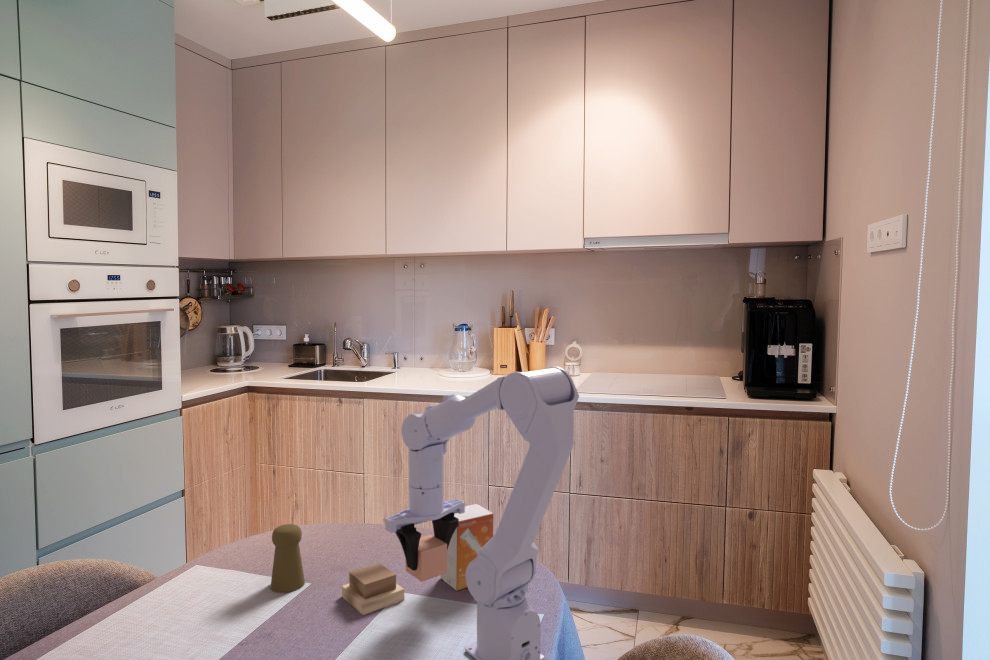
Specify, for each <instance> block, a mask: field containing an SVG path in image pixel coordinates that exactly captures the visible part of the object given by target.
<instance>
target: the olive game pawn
mask: <svg viewBox="0 0 990 660" xmlns="http://www.w3.org/2000/svg"><path fill="white" fill-rule="evenodd" d="M271 534H272V535H271V541H272V544H273V545H274V555H273V564H272V572H271V580H270V588H269V589H270V591H272V592H274V593H279V594H286V593H293V592H296V591H298V590H300V589H301V588H303V587H304V585H305V584H306V582H305V581H306V580H305V575H304V569H303V561H302V556H301V549H300V542H301V541H302V534H303V533H302V529H301V528H300V526H299V525H297V524H292V523H286V524H281V525H279V526H276V528H275V527H274V529H273V531H272V533H271Z"/></svg>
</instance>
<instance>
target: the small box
mask: <svg viewBox="0 0 990 660" xmlns="http://www.w3.org/2000/svg"><path fill="white" fill-rule="evenodd" d="M454 517H456V518H458V519H459V525H458V526H457V528H456V530H455V531H454V533H453V535H452V538H451V540H450V543H449V546H448V550H447V573H446V574H443V575H440V579H441V580H442V581H444V582H445V583H446V584H448V585H449V586H450V587H451V588H452V589H453V590H455V591H456V592H457V591H460V590H463V589H466V588H467V589H468V587H467V583H466V569H467V566H468V564H469V563H470V562H471V561H473V560H474V559H475V558H476V557H477V555H478V553H479V550H480V549H481V548H482V547H483V546H484V545H485V544H486V543H487V542H488V541H489V540H490V539H491V538H492V537H493V536H494V512H491V511H490V510H488V509H486V508H485V507H484V506H481V505H479V504H478V503H474V504H470V505H465V513H462V514H459V513H456V514H454Z"/></svg>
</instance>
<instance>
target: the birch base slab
mask: <svg viewBox="0 0 990 660" xmlns="http://www.w3.org/2000/svg"><path fill="white" fill-rule="evenodd" d="M341 597H342V598H343V599H344V600H345V601H346V602H348V603H349V604H350V605H351V606H352V607H353V608H354V609H355V610H357V611H358V612H359V613H360V614H361V615H363V616H364V615H367V614H369V613H372V612H375V611H378V610H380V609H383V608H386V607H389V606H392V605H394V604H396V603H400V602H402V601H404V600H405V588H403V587H402V586H401V585H400V584H398V583H397V582H396V589H393V590H390V591H387V592H384V593H381V594H378V595H375V596H372V597H369V598H367V599H364V598H363V597H362V596H361V595H360V594H358V593H357V592H356V591H355V590H354V589H352V588H351V587H350V586H349V583H346V584H343V585H341Z"/></svg>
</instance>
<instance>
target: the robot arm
mask: <svg viewBox="0 0 990 660" xmlns="http://www.w3.org/2000/svg"><path fill="white" fill-rule="evenodd" d="M579 398H580V394H579V392H578V389H577V388H576V385H575V383H574V380H573V378H572V376H571V375H570V374H569V372H568V371H567V370H565V369H564V368H562V367H561V366H551V367H547V368H545V369H544V368H543V369H537V370H528V371H513V372H510V373H508V374H507V375H504V376H500V377H497V379H494V381H492V382H491V383H489V384H487V385H485V386H484V387H482V388H480V389H478V390H477V391H475V392H473V393H472V394H470V395H469V396H467V397H465V396H463V395H458V394H456V395H455V394H454V393H451V394H446V395H444V396H442V402H440V403H438V404H436V405H434V404H432V405H431V404H430V405H428V406H427V407H425V411H423V412H422V413H417V414H416V413H409V414H408V415H407V416H406V417H405V418H404V419H403V421H402V424H401V436H402V440H403V443H404V444H405V446H406V447H407V448H408V455H409V456H408V462H409V463H408V467H409V468H408V469H409V470H408V472H409V473H408V478H409V479H408V487H409V488H408V492H409V493H408V499H409V500H408V508H406V509H403V510H401V511H400V512H398V513H396V514H394V515H391V516H388V517H385V518H384V525H385V526H384V530H385V531H386V532H388V533H390V534H394V533H395V535H396V536H397V538H398V541H399V543H400V545H401V548H402V551H403V554H404V556H405V564H406V563H407V567H408V568H410V569H411V570H413V571H414V570H417V566H418V547H419V541H420V537H422V533H421V532H420V531H418V530H417V527H415V526H416V525H418V524H419V525H420V524H423V523H426V522H429V521H430V522H432V523H431V524H432V529H433V536H434V537H436V538H438V539H439V540H441V541H443V542H445V543H446V544H447V550H448V546H449V543H450V540H451V538H452V535H453V533H454V531H455V530H456V528H457V526H458V525H459V519H458V518H456V517H454V514H456V513H459V514H462V513H465V506H466V505H465V504H466V503H465V501H463V500H461V499H453V500H452V499H451V500H445V501H444V499H445V498H444V495H445V493H444V486H445V484H444V473H445V471H444V461H445V459H444V457H445V454H446V452H447V449H448V448H447V446H448V442H449V441H450V439H451V438H454V437H455V436H458V435H459V434H462V433H464V432H466V431H469V430H470V429H471V428H473V426H474V425H475V423H476V419H477V417H479V416H482V415H484V414H487V413H489V412H491V411H493V410H496V409H498V410H499V411H505V413H506V415H507V416H508V418H509V419H510V420H511V422H512V424H514V427H515V428H516V429H517V432H518V433H519V434H520V435H521V437H522V438H523V440H524V441H526V442H528V445H529V447H528V449H527V452H526V455H525V457H524V460H523V463H522V465H521V468H520V470H519V473H518V475H517V478H516V481H515V483H514V486H513V487H512V491H511V493H510V495H509V498H508V501H507V503H506V505H505V508H504V511H503V514H502V516H501V518H500V522H499V524H498V526H497V528H496V531H495V534H493V537H492V538H491V539H490V540H489V541H488V542H487V543H486V544H485V545H484V546H483V547H482V548H481V549H480V550H479V553H478V555H477V557H476V558H475V559H474V560H473V561H471V562H470V563H469V564H468V566H467V569H466V583H467V589H468V591H469V593H470V594H471V596H472V597H473V600H474V601H476V641H474V642H473V643H470V644H468V645H465V647H464V651H465V652H466V653H467V654H468V655H470V656H471V657H472V658H474V659H475V660H545V655H543V654H542V653H541V634H542V633H541V619H540V616H539V614H538V612H536V611H535V610H534V609H533V608H532V606H530V604H529V603H528V599H527V598H526V595H527V592H529V584H530V583H531V582H532V581H533V580H534V579H535V577H536V573H537V572H536V571H537V564H536V563H537V558H538V555H539V552H540V549H538V547H537V544H536V543H535V542H534V541H535V538H536V536H537V533H538V532H539V529H540V526H541V523H542V522H543V520H544V517H545V515H546V512H547V510H548V508H549V506H550V502H551V501H552V498H553V495H554V493H555V491H556V488H557V486H558V484H559V481H560V480H561V476H562V474H563V472H564V470H565V467H566V465H567V462H568V460H569V458H570V455H571V453H572V450H573V447H574V442H575V441H574V439H575V437H574V435H575V434H574V419H575V418H574V417H575V416H574V413H575V412H574V410H575V408H576V406H577V403H578V401H579Z"/></svg>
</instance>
